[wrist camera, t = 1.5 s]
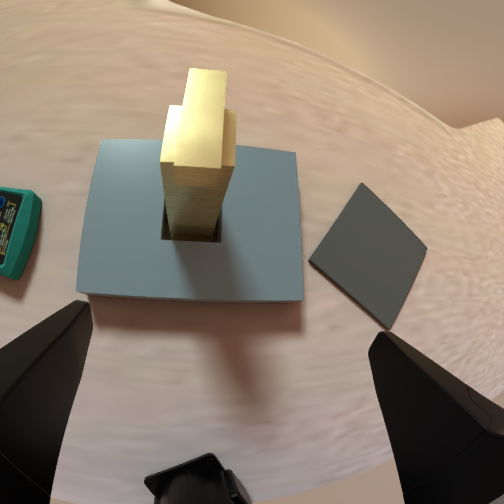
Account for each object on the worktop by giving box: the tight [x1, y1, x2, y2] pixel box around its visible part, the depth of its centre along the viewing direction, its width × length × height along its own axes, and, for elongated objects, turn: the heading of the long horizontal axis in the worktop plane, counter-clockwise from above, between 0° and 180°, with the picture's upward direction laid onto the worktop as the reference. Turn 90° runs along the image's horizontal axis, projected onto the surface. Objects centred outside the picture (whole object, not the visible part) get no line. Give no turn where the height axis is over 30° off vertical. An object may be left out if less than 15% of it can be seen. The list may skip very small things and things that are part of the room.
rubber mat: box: [308, 183, 427, 329], centre depth 26 cm, size 10×10×1 cm
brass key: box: [160, 68, 236, 242], centre depth 17 cm, size 5×3×14 cm, turn 0°
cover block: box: [76, 139, 304, 303], centre depth 22 cm, size 12×16×2 cm
